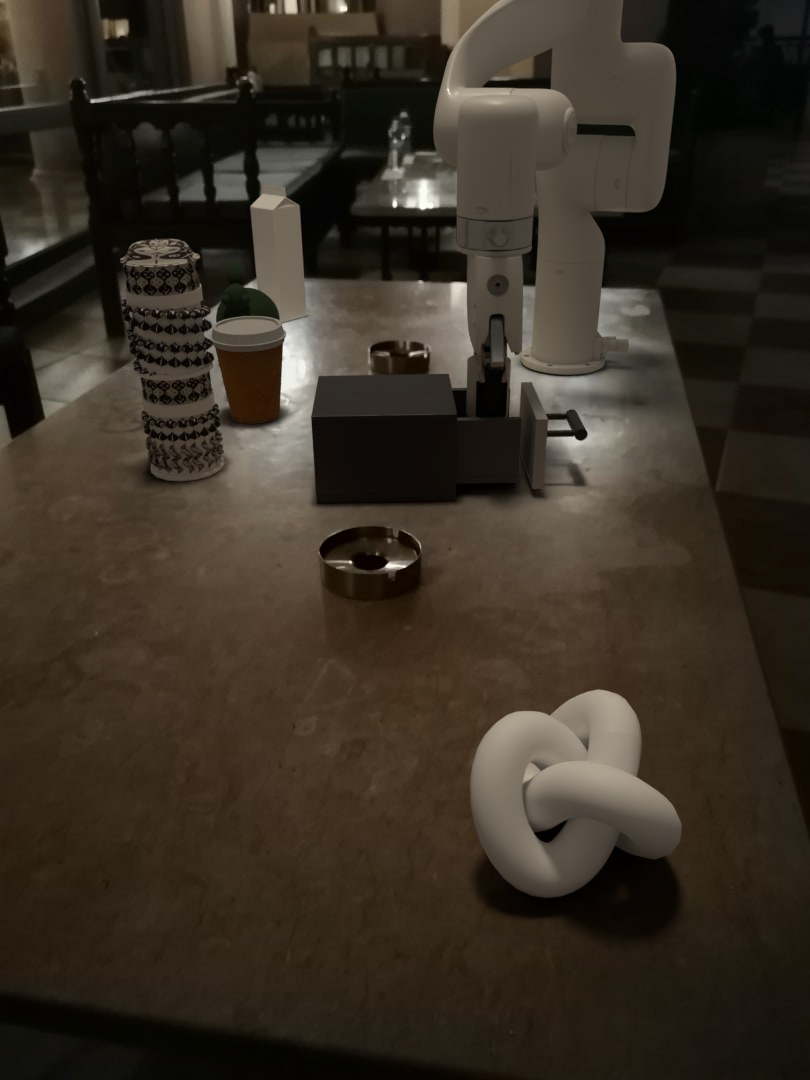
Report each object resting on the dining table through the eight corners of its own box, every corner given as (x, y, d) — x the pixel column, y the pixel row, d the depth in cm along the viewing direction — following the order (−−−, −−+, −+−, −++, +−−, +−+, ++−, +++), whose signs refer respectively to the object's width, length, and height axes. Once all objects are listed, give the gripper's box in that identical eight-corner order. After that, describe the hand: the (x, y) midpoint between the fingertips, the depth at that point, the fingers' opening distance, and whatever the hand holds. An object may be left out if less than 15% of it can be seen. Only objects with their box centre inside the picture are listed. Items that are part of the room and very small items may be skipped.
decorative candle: (130, 476, 103) (91, 248, 91) (175, 446, 110) (145, 232, 98) (200, 487, 100) (170, 254, 88) (241, 455, 107) (219, 237, 95)
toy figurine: (281, 408, 126) (283, 340, 147) (269, 272, 115) (273, 220, 136) (212, 411, 125) (224, 343, 146) (195, 275, 115) (210, 222, 135)
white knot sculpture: (529, 965, 48) (539, 844, 44) (427, 812, 57) (428, 700, 53) (697, 889, 52) (722, 771, 48) (576, 758, 62) (588, 651, 57)
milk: (281, 323, 158) (270, 189, 148) (259, 317, 162) (247, 186, 151) (307, 316, 162) (298, 185, 152) (285, 310, 166) (275, 182, 155)
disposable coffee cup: (278, 431, 114) (271, 337, 108) (207, 426, 116) (196, 333, 110) (301, 405, 122) (295, 316, 117) (234, 400, 124) (225, 313, 118)
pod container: (505, 405, 101) (508, 352, 98) (510, 420, 97) (513, 366, 94) (464, 406, 101) (465, 353, 98) (467, 421, 97) (469, 367, 94)
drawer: (569, 445, 107) (574, 381, 103) (589, 487, 97) (595, 418, 93) (412, 448, 107) (412, 383, 103) (415, 491, 96) (415, 421, 93)
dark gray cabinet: (447, 453, 108) (448, 373, 103) (455, 500, 96) (457, 413, 92) (323, 455, 107) (318, 375, 103) (316, 503, 96) (311, 416, 91)
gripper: (545, 251, 82) (533, 437, 91) (520, 218, 97) (512, 381, 106) (463, 252, 82) (459, 439, 91) (450, 219, 97) (448, 383, 106)
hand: (488, 406), depth 98 cm, fingers closed on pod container, 4 cm apart
